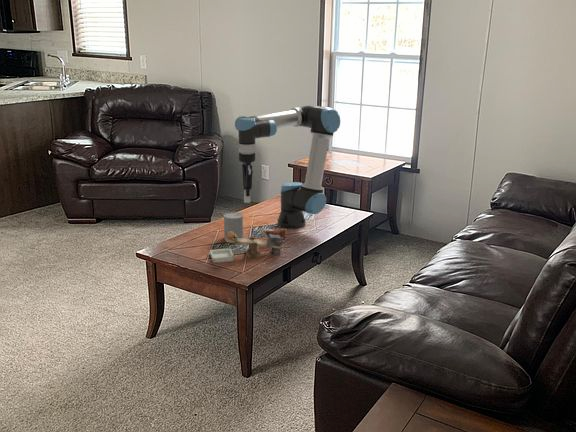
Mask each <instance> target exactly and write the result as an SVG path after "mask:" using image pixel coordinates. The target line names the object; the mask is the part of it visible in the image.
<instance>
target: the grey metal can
mask: <svg viewBox="0 0 576 432" xmlns="http://www.w3.org/2000/svg"><path fill="white" fill-rule="evenodd" d="M243 222H244V214H243V213H241V212H233V211H232V212H227V213H225V214H223V229H224V230H223V231H224V232H223V234H224V239H223V240H225V241H226V239H225V236H226V234H228V232H230V231H232V232H234V233H235V234H236V236H237V238H242V239H244V223H243Z"/></svg>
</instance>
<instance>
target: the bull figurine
mask: <svg viewBox="0 0 576 432" xmlns="http://www.w3.org/2000/svg"><path fill="white" fill-rule="evenodd" d="M259 233H260V235H262V236H265V238H266V239H267V240H268V237H269V234H273V235H279V236H280V237H281V240H282V243H285V242H286V233H287V229H285V228H281V227H279V228H276V229H270V228H269V229H267V228H263V229H262V230H261V232H259Z"/></svg>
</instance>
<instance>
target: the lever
mask: <svg viewBox="0 0 576 432" xmlns="http://www.w3.org/2000/svg"><path fill="white" fill-rule="evenodd" d="M234 234H235V233H234ZM225 239H226V240H225ZM225 239H224V240H225V242H226V243H232V244H237V245H239V244H240V245H247V246H249V245H252V243H256V242H257V247H264V248H278V249H281V248H282V246H281V242H282V239H281V237H280V236H279V235H273V234H269V237H268V239H267V241H263V240H259V239H256V240H255V239H254V240H253V239H251V240H250V239H249V238H248V239H247V238H243V239H242V238H237V236H236V234H235V236H234V238H229V237H227V234H226V236H225Z"/></svg>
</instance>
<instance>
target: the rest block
mask: <svg viewBox="0 0 576 432" xmlns="http://www.w3.org/2000/svg"><path fill="white" fill-rule="evenodd" d="M281 250H282V249H281V248H280V249H278V248H271V252H272V253H273V255H274V256H276V255H281V254H282V253H281Z"/></svg>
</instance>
